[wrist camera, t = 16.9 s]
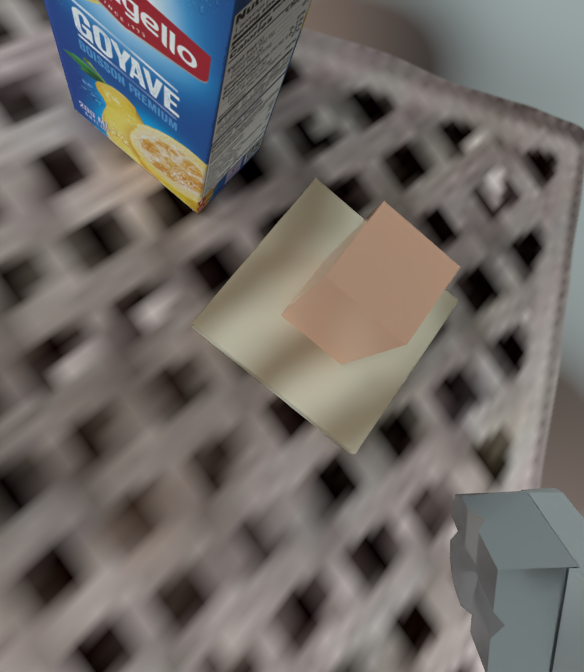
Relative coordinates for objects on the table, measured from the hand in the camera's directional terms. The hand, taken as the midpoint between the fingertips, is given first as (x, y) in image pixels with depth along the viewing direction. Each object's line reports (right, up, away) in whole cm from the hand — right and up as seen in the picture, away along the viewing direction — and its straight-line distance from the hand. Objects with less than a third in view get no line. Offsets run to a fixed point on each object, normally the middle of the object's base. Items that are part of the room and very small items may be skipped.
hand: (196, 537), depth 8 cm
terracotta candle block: (+4, +5, +28) cm, 29 cm away
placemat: (+4, +5, +29) cm, 30 cm away
